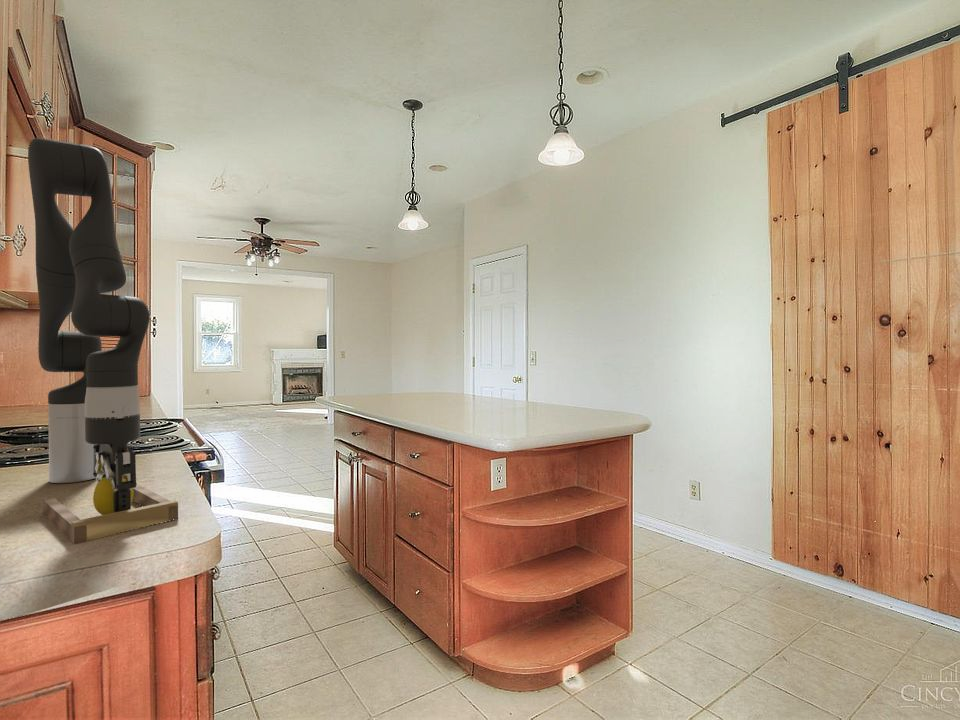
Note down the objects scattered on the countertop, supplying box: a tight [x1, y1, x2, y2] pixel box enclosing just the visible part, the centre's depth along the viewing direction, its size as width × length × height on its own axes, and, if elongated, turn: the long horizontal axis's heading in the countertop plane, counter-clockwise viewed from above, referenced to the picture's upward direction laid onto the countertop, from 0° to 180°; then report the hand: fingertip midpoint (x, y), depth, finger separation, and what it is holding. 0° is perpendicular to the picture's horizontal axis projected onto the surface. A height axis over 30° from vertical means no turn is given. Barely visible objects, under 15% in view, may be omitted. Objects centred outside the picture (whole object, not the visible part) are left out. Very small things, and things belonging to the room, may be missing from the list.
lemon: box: [92, 477, 134, 515], centre depth 84 cm, size 6×6×8 cm
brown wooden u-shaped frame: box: [41, 484, 179, 544], centre depth 86 cm, size 22×14×3 cm, turn 51°
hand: (114, 508), depth 84 cm, fingers open, 8 cm apart
